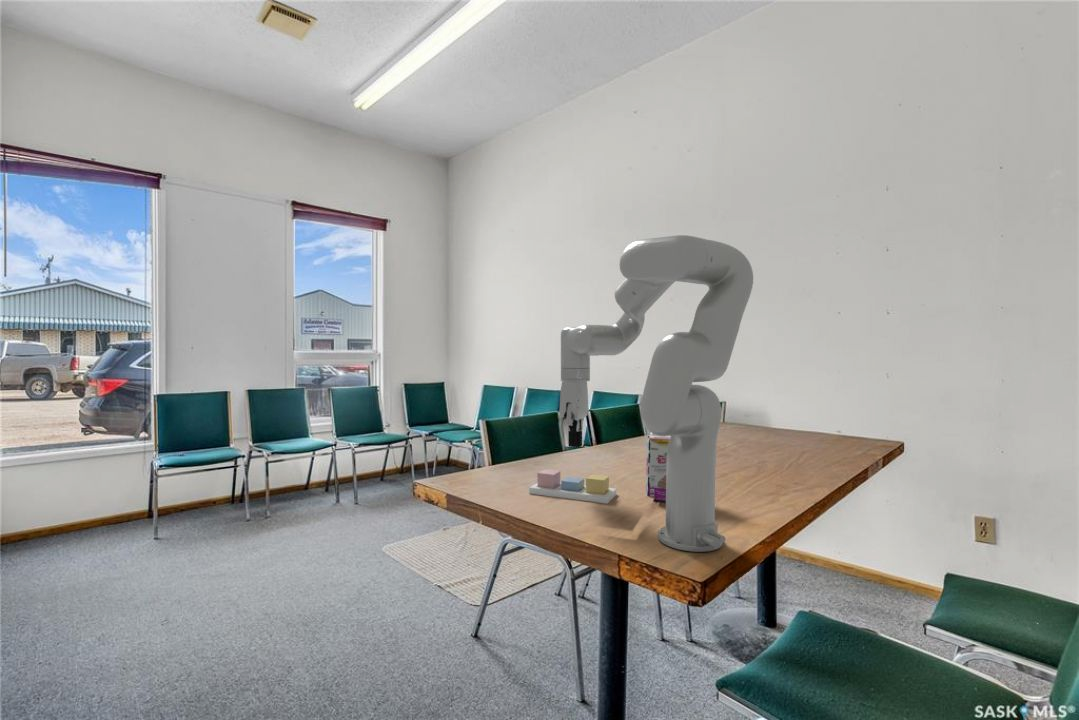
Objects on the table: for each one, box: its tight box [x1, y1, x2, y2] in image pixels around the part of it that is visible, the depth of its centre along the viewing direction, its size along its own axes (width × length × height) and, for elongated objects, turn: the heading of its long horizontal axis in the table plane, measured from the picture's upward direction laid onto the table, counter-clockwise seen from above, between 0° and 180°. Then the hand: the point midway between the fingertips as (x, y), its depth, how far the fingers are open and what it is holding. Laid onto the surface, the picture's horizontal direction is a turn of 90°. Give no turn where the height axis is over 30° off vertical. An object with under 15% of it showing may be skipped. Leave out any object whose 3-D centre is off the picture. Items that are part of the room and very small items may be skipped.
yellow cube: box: [585, 474, 610, 495], centre depth 129 cm, size 5×5×5 cm
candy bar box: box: [645, 434, 671, 503], centre depth 131 cm, size 11×5×16 cm, turn 84°
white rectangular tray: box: [528, 481, 617, 504], centre depth 131 cm, size 21×8×3 cm, turn 67°
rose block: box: [536, 469, 561, 489], centre depth 134 cm, size 5×5×5 cm
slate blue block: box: [560, 476, 585, 492], centre depth 131 cm, size 5×5×5 cm
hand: (575, 446), depth 131 cm, fingers closed
